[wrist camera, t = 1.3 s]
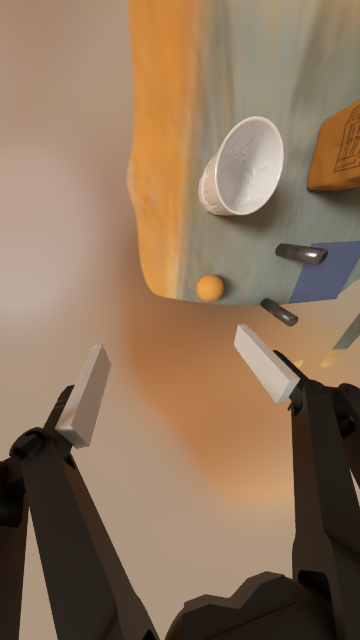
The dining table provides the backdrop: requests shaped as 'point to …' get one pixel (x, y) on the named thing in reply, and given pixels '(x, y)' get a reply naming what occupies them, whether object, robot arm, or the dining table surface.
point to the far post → (279, 312)
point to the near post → (302, 253)
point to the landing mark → (326, 273)
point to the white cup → (243, 169)
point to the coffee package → (337, 152)
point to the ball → (210, 288)
